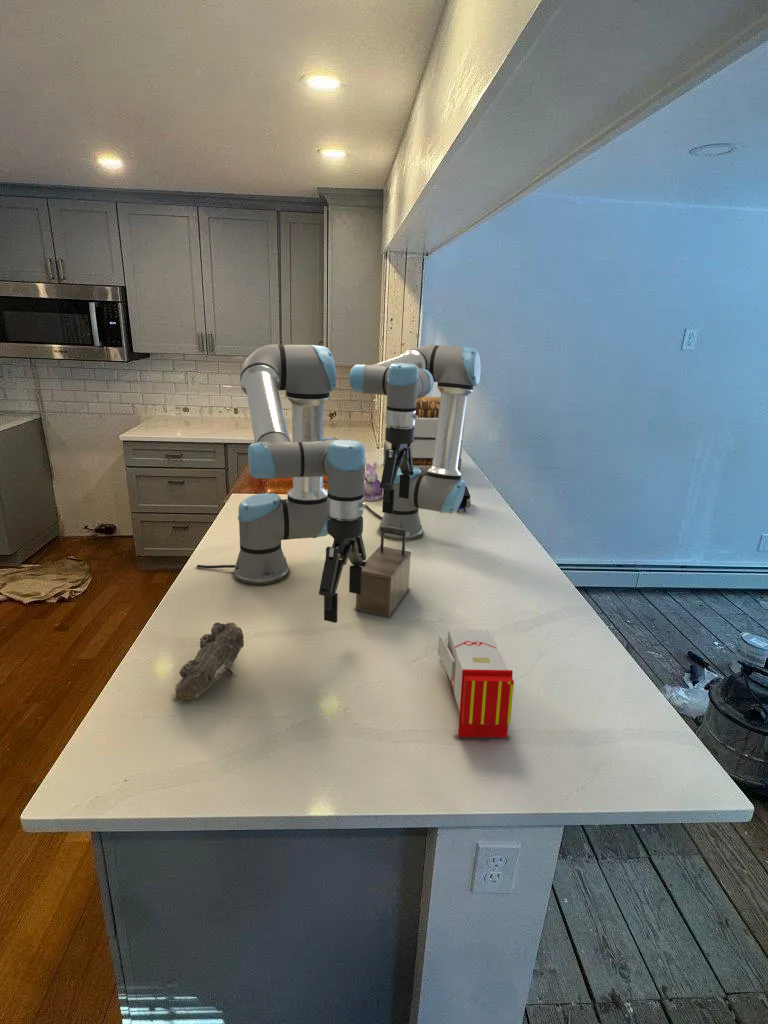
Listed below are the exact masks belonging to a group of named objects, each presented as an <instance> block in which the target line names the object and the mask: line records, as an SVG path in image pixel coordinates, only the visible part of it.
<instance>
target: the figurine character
mask: <svg viewBox="0 0 768 1024" xmlns="http://www.w3.org/2000/svg"><path fill="white" fill-rule="evenodd" d="M471 501H472V500H471V494H470V491H469V488H468V486H467V485H465V491H464V495H463V499H462V501H461V504H460V506H459V508H458V509H457V511H456V512H460V510H463V511H464V513H466V512H467V509H470V508H471V505H472V504H471ZM466 508H467V509H466Z"/></svg>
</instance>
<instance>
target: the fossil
mask: <svg viewBox="0 0 768 1024" xmlns="http://www.w3.org/2000/svg"><path fill="white" fill-rule="evenodd" d="M244 638H245V637H244V633H243V630H242V628H241V627H239V626H237V624H236V623H235V622H233V621H232V622H225V623H221V622H214V623H213V625H212V627H211V629H210V633H206V634H203V635H202V636H201V637H200V639H199V648H200V649H199V650H198V652H196V655H195V657H194V659H190V660H188V661H187V662H186V663H185V664H183V666H181V668H180V670H179V672H178V673H179V675H180V677H181V678H180V680H179V682H178V683H176V685H175V686H176V688H174V690H175V697H176V698H177V699H181V700H182V701H186V700H187V701H188V700H191V699H198V698H199V697H200V696H201V695H202V694H203V693H204V692H206V691H207V690H208V689H209V688H210V687H212V685H213V684H214V683H215V682H217V680H219V679H220V677H221V676H222V674H223V673H224V672H225V671H227V672H228V673H229V674H230V675H233V674H234V672H233V671H232V670H231V669H230V668H229V666H230V664H231V663H234V661H235V660H236V659H237V658H238V655H239V654H240V651H241V649H242V648H243V647H244V645H245V640H244Z"/></svg>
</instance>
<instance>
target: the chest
mask: <svg viewBox="0 0 768 1024" xmlns="http://www.w3.org/2000/svg"><path fill="white" fill-rule="evenodd" d="M410 566H411V556H410V557H409V558H408V559H407V560H406V562H405V563H404V564H403V565H402V567H401V568H400V569H399V570H398V572H397V573H396V574H395V575H394V577H393V578H392V579H391V580H388V579H383V578H378V577H373V576H368V575H363V574H362V584H361V594H355V610H357V611H361V612H364V613H365V612H366V613H369V614H374V615H377V616H379V615H380V616H384V617H388V618H389V617H391V615H392V614H393V612H394V611H395V609H396V608H397V606H398V605H399V603H400V602H401V601H402V599H403V598H404V597H405V595H406V593H407V592H408V591H409V585H410V569H411V567H410Z"/></svg>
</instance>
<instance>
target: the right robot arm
mask: <svg viewBox="0 0 768 1024" xmlns="http://www.w3.org/2000/svg"><path fill="white" fill-rule="evenodd" d="M481 370H482V365H481V358H480V354H479V352H478V350H477V349H476V348H474V347H467V346H455V345H437V344H429V345H421V346H418V347H414V348H411V349H408V350H405V351H403V352H402V353H401V354H400V356H396V357H393V358H390V359H386V360H384V361H380V362H377V363H373V364H365V363H363V364H354V365H353V367H352V368H351V369H350V372H349V386H350V389H351V390H352V391H353V392H356V393H362V394H370V395H378V396H379V395H381V396H386V408H385V409H386V410H385V425H386V426H387V425H388V426H387V427H385V431H384V432H385V433H384V441H385V440H386V441H387V442H390V443H391V449H390V450H389V449H387V450H386V459H385V464H383V470H382V475H381V480H380V483H381V485H380V488H382V489H383V493H382V507H381V508H382V509H381V513H383V515H382V516H381V515H380V514H378V513H376V512H375V511H374V510H373V509H371V508H370V507H369V506H368V505H367V504H366V506H365V507H364V508H366V509H367V510H368V511H369V512H370V513H372V514H373V515H374V516H375V517H377V518H379V519H380V520H381V522H379V525H378V533H379V534H380V535H381V532H380V527H381V525H384V526H390V527H396V528H402V529H407V535H406V541H410V540H415V539H418V538H420V537H421V536H422V535H423V525H422V524H421V518H420V515H419V509H420V510H427V511H433V512H438V513H441V514H443V513H445V514H454V513H456V512H458V511H457V509H458V508H459V506H460V504H461V501H462V499H463V495H464V491H465V486H466V481H465V480H463V479H462V473H460V472H459V470H458V461H459V454H460V446H461V440H462V439H463V438H462V431H463V424H464V425H465V421H464V420H465V416H466V408H467V401H468V397H469V395H470V394H472V393H473V391H474V387H477V386H478V385H479V384H480V381H481V375H482V374H481V373H482V372H481ZM435 383H437V384H436V385H437V386H436V388H437V390H438V391H439V392H440V397H441V398H440V406H439V414H438V422H437V430H436V438H435V446H434V454H433V462H432V465H430V466H429V468H428V469H427V470H426V473H425V474H424V473H423V474H422V470H421V468H419V467H416V466H413V462H412V452H411V443H412V442H414V435H415V429H414V427H413V426H414V425H415V419H417V417H418V416H417V415H415V413H416V402H417V398H421V397H426V396H427V395H428V394H429V393H431V392H432V390H433V388H434V385H435ZM386 441H385V442H386ZM399 467H400V468H399ZM323 483H325V484H327V485H328V480H325V479H323ZM384 538H387V539H389V540H395V541H402V539H403V536H398V535H393V534H387V533H384Z"/></svg>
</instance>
